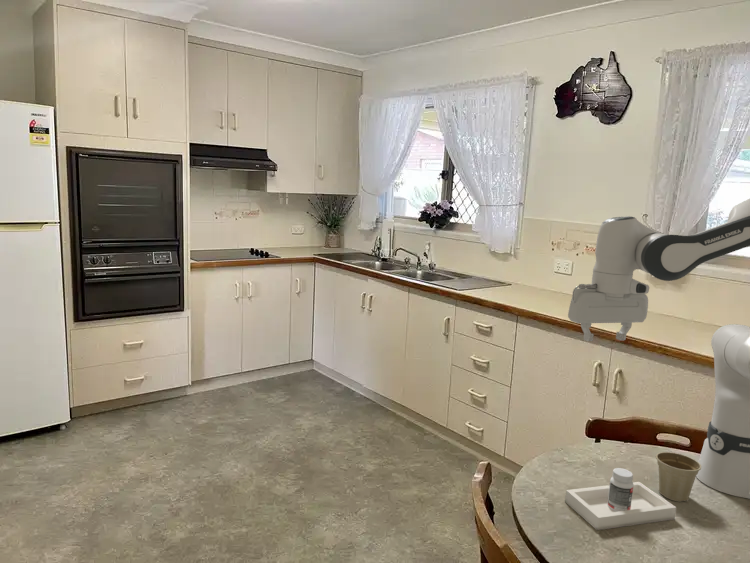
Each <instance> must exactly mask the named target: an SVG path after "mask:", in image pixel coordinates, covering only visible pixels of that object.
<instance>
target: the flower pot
mask: <svg viewBox="0 0 750 563" xmlns="http://www.w3.org/2000/svg"><path fill="white" fill-rule="evenodd" d="M655 459H656V460H657V462H656V463H657V465H658V492H659V495H662V496H664V498H666V499H668V500H671V501H675V502H679V503H680V502H687V501H688V500H689V499H690V495H691V492H692V488H693V486H694V483H695V481H696V480H695V479H696V475H697V474H698V472H699V470H701V464H700V463H699V462H698V461H699V460H696V459H694V458H693V457H690V456H688V455H685V454H682V453H677V452H673V451H672V452H671V451H669V452H668V451H661V452H657V453H656V454H655Z"/></svg>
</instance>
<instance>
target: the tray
mask: <svg viewBox="0 0 750 563" xmlns="http://www.w3.org/2000/svg"><path fill="white" fill-rule="evenodd" d="M632 482H633V481H632ZM633 485H634V487H633V494H632V501H631V509H630V510H625V511H618V512H616V511H614V510H612V509H610V508H609V507H608V505H607V501H608V494H609V486H610V484H608V485H607V484H606V485H599V486H592V487H591V486H590V487H580V488H573V489H566V491H565V497H564V502H565V503H566V504H567V505H568V506H569V507H570V508H571V509H572V510H573V511H575V512H576V514H578V515H579V516H580V517H582V519H584V520H585V521H586V522H587V523H588V524H589V525H590V526H592V528H594V529H595V530H596V531H601V530H609V529H615V528H623V527H627V526H628V527H630V526H636V525H643V524H649V523H651V524H652V523H657V522H665V521H671V520H672V521H673V520H675V519H676V512H677V506H675V505H674V504H672V503H671V502H669V501H668V500H666V499H665V497H662V496H660V494H658V493H656V492H655V491H653V490H652V488H651V489H650V488H649V487H647V486H646V485H645V484H643V483H642V482H640V481H634V482H633Z"/></svg>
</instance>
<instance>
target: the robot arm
mask: <svg viewBox="0 0 750 563" xmlns="http://www.w3.org/2000/svg"><path fill="white" fill-rule="evenodd" d="M728 214H729V215H728V216H727V221H726V222H724V223H723V224H720V225H717V226H715V227H711V228H707V229H706V230H701V231H699V232H697V233H694V234H690V235H681V234H667V233H661V232H659V231H657V230H655V229H652V228H650V227H648V226H647V225H645V224H643V223H642V222H641V221H639V220H638V219H637V217H635V216H630V215H629V216H627V215H626V216H616V217H611V218H607V219H605V220H603V222H602V223H601V225H600V226H599V229H598V234H597V238H596V244H595V252H594V254H595V264H594V266H593V269H592V275H591V276H592V277H591V283H588V284H586V283H581V284H580V283H579V284H578V285H577V286H575V288H573V290H572V296H571V300H570V303H569V308H568V312H567V313H568V314H567V317H568V319H569V321H571V322H573V323H576V324H580V327H581V330H582V333H583V336H582V337H583V341H586V342H593V341H594V335H595V333H592V332H591V331H590V328H592V324H617V323H620V325H621V328H620V329H619V331H616V333H615V334H616V335H615V339H616V340H617V341H626V339H627V334H628V333H629V331H630V330H631V328H632V324H633V323H643V322H644V321H645V320H646V319H647V316H648V308H649V297H648V294H649V292H650V285H648V284H646V283H645V282H641V281H639V280H637V279H634V271H635V270H640V271H643V272H645V273H646V274H650V275H651V276H652V277H654V278H655V279H657V280H661V281H666V282H669V281H677V280H679V279H680V280H681V279H682V278H683V277H684V278H685V276H687V275H689V274H690V272H692V271H693V270H695V269H696V268H697V267H698V266H700V265H702V264H704V263H705V262H708V261H711V260H714V259H716V258H720V257H721V256H725V255H727V254H730V253H733V252H737V251H738V250H741V249H745V248H748V247H749V248H750V198H749V199H746V200H744V201H742V202H740V203H738V204H736V205H734V206H733V207H732V208H731V210H730V212H729V213H728ZM710 342H711V344H710V346H711V348H712V349H711V350H712V351H713V360H714V361H713V363H714V366H713V367H714V370H713V371H714V382H715V384H714V385H715V388H714V390H715V391H714V402H713V406H712V407H713V410H712V413H711V421H709V423H708V426H707V429H706V430H707V431H706V432H707V433H706V436H707V437H706V438H705V439H704V441H703V446H702V449H701V452H700V455H699V459H698V460H697V461H698V462H699V463H700V464H701V470H699V472H698V474H697V475H696V477H697V479H698V480H699V481H700V482H702V484H704V485H706V486H708V487H709V488H712V489H714V490H716V491H719V492H721V493H724V494H728V495H731V496H735V497H740V498H745V499H748V500H750V326H749V325H745V324H739V323H738V324H737V323H734V324H725V325H722V326H721V327H719V328H718V329H716V330H715V331H714V333H713V334H712V337H711V341H710ZM696 477H695V478H696Z"/></svg>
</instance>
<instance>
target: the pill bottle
mask: <svg viewBox="0 0 750 563" xmlns="http://www.w3.org/2000/svg"><path fill="white" fill-rule="evenodd" d="M633 476H634V474H633V472H632V471H631V470H628V469H626V468H622V467H615V468H613V470H612V476H611V477H610V480H609V485H610V486H609V494H608V501H607V505H608V507H609V508H610V509H612V510H614V511H616V512H618V511H625V510H630V509H631V501H632V494H633V487H634V485H633V478H634V477H633Z"/></svg>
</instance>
